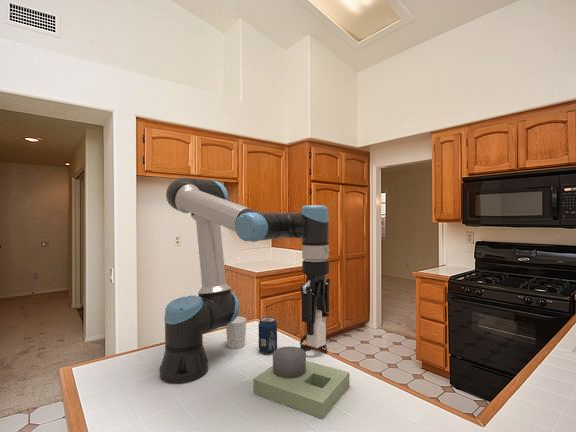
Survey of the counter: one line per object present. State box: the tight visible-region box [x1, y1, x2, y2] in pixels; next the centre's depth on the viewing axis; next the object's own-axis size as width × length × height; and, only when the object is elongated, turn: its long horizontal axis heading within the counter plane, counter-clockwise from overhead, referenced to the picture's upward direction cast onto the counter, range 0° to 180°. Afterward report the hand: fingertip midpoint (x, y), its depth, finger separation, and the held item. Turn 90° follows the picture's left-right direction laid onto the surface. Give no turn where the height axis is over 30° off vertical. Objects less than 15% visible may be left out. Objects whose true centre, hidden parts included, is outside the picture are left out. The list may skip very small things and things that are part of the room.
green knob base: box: [252, 346, 350, 420], centre depth 92 cm, size 22×18×9 cm
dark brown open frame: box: [299, 332, 328, 354], centre depth 118 cm, size 12×10×8 cm
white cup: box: [225, 316, 247, 349], centre depth 124 cm, size 8×8×10 cm
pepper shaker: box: [315, 309, 327, 349], centre depth 89 cm, size 4×4×10 cm
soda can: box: [258, 316, 278, 355], centre depth 118 cm, size 7×7×12 cm
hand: (316, 342), depth 89 cm, fingers closed on pepper shaker, 5 cm apart
